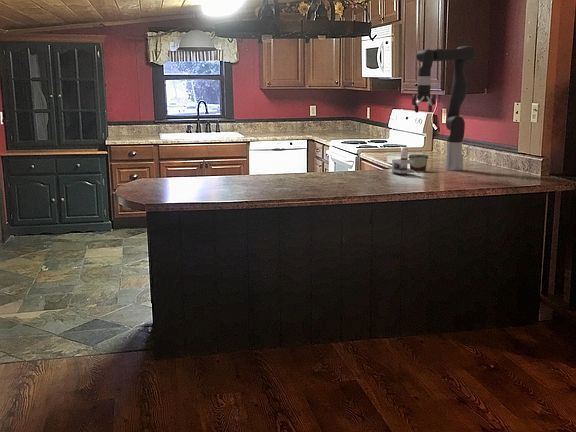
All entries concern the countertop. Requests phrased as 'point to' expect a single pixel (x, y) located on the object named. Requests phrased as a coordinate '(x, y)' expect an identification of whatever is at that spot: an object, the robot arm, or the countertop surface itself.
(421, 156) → the food container
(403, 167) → the tube
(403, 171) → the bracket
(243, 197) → the countertop surface
